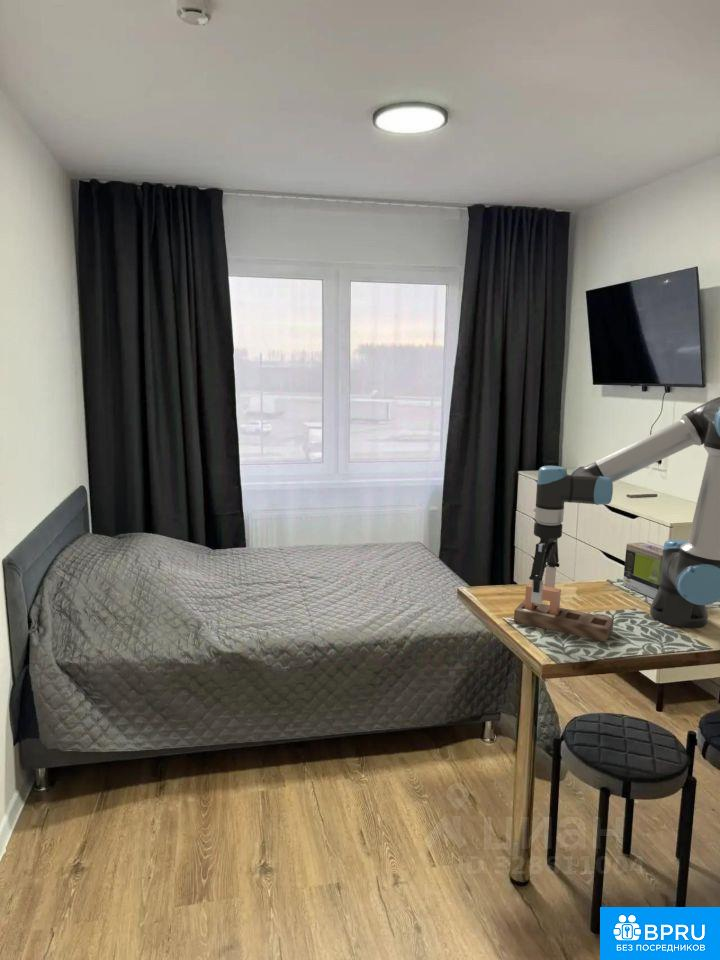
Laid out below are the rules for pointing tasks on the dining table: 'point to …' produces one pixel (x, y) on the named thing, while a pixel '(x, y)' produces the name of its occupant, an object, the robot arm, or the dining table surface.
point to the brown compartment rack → (566, 621)
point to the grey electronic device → (643, 567)
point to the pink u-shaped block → (547, 595)
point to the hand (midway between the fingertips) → (543, 595)
